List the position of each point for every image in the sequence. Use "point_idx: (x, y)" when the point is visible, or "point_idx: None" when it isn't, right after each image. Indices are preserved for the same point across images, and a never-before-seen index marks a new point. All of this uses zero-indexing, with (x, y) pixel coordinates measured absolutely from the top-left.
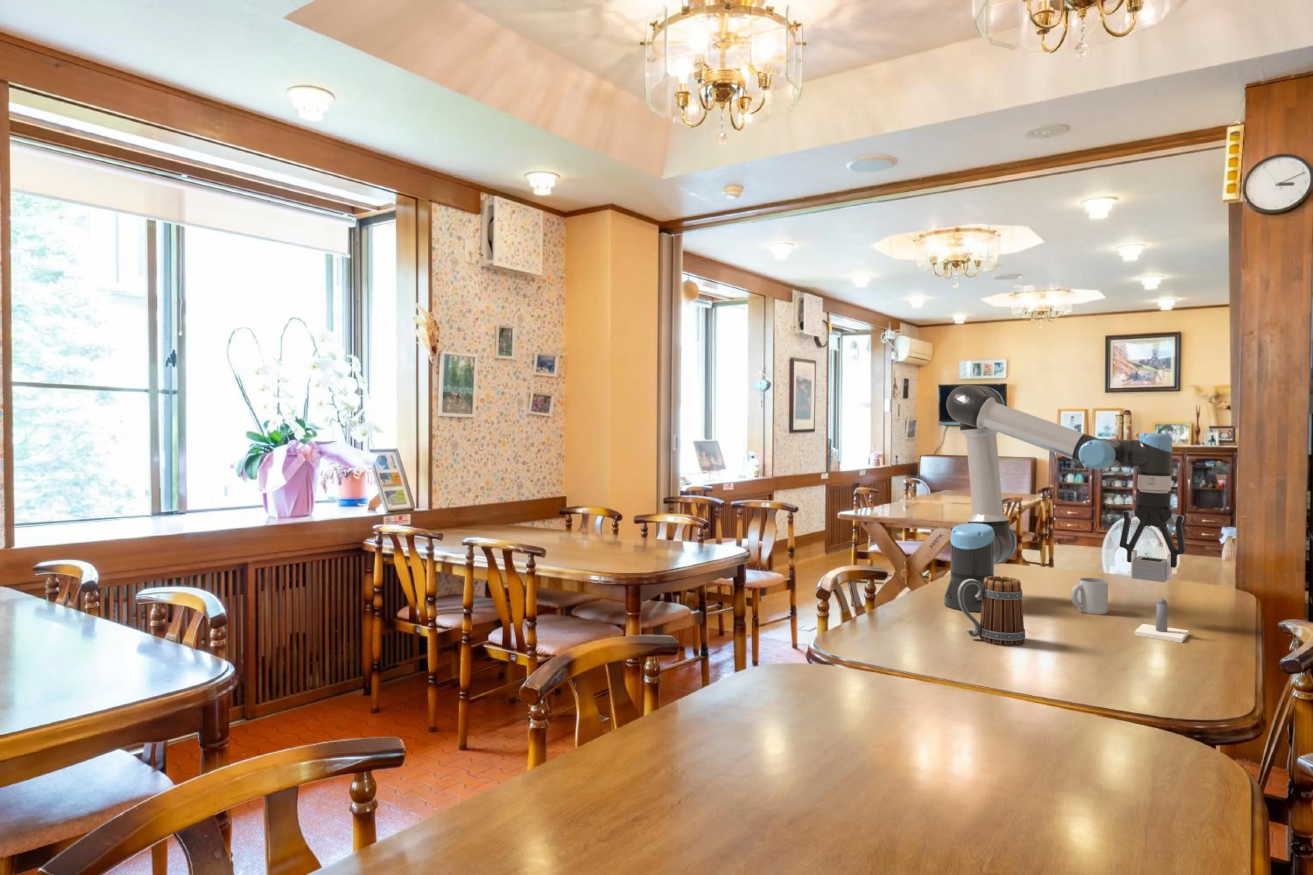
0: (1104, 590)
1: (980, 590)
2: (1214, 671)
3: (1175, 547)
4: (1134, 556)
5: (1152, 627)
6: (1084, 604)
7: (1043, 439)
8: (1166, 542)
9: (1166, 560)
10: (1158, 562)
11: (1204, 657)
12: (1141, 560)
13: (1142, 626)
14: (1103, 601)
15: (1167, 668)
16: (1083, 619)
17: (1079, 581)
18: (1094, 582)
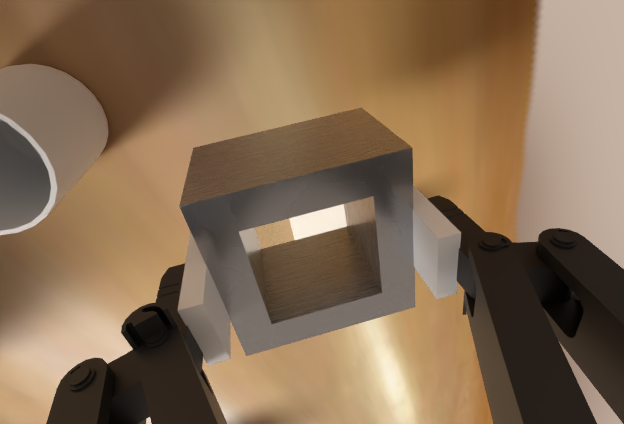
0: (74, 169)
1: None
2: (464, 361)
3: (523, 275)
4: (229, 328)
5: (321, 226)
6: (42, 179)
7: None
8: (488, 384)
9: (398, 212)
10: (380, 315)
11: (446, 315)
12: (293, 340)
13: (299, 236)
14: (92, 154)
15: (411, 393)
16: (132, 247)
17: None
18: (31, 221)
